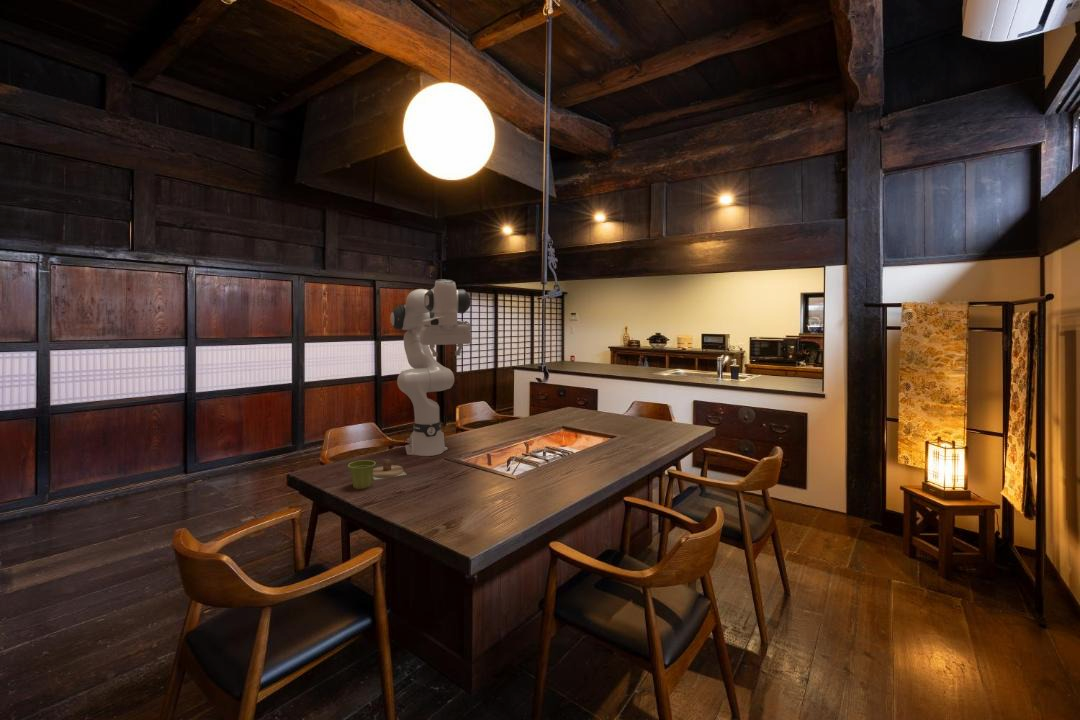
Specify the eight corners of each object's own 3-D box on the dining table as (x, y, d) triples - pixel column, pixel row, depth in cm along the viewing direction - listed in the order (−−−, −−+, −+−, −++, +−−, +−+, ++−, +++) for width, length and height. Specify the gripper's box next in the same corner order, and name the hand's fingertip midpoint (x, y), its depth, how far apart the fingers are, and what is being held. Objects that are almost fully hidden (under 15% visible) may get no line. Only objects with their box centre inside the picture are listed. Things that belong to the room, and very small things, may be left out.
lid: (368, 471, 185) (368, 458, 185) (398, 466, 192) (398, 453, 191) (374, 479, 175) (374, 466, 175) (406, 474, 181) (406, 461, 181)
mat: (368, 472, 185) (368, 470, 185) (399, 467, 192) (398, 466, 192) (374, 481, 175) (374, 479, 175) (406, 476, 181) (406, 474, 181)
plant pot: (372, 480, 176) (372, 458, 175) (379, 488, 168) (378, 464, 167) (346, 485, 171) (345, 462, 170) (351, 493, 163) (351, 469, 162)
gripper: (467, 320, 191) (467, 354, 192) (418, 320, 179) (418, 356, 181) (473, 321, 185) (473, 355, 187) (423, 320, 174) (424, 357, 175)
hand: (446, 356), depth 184 cm, fingers open, 8 cm apart
